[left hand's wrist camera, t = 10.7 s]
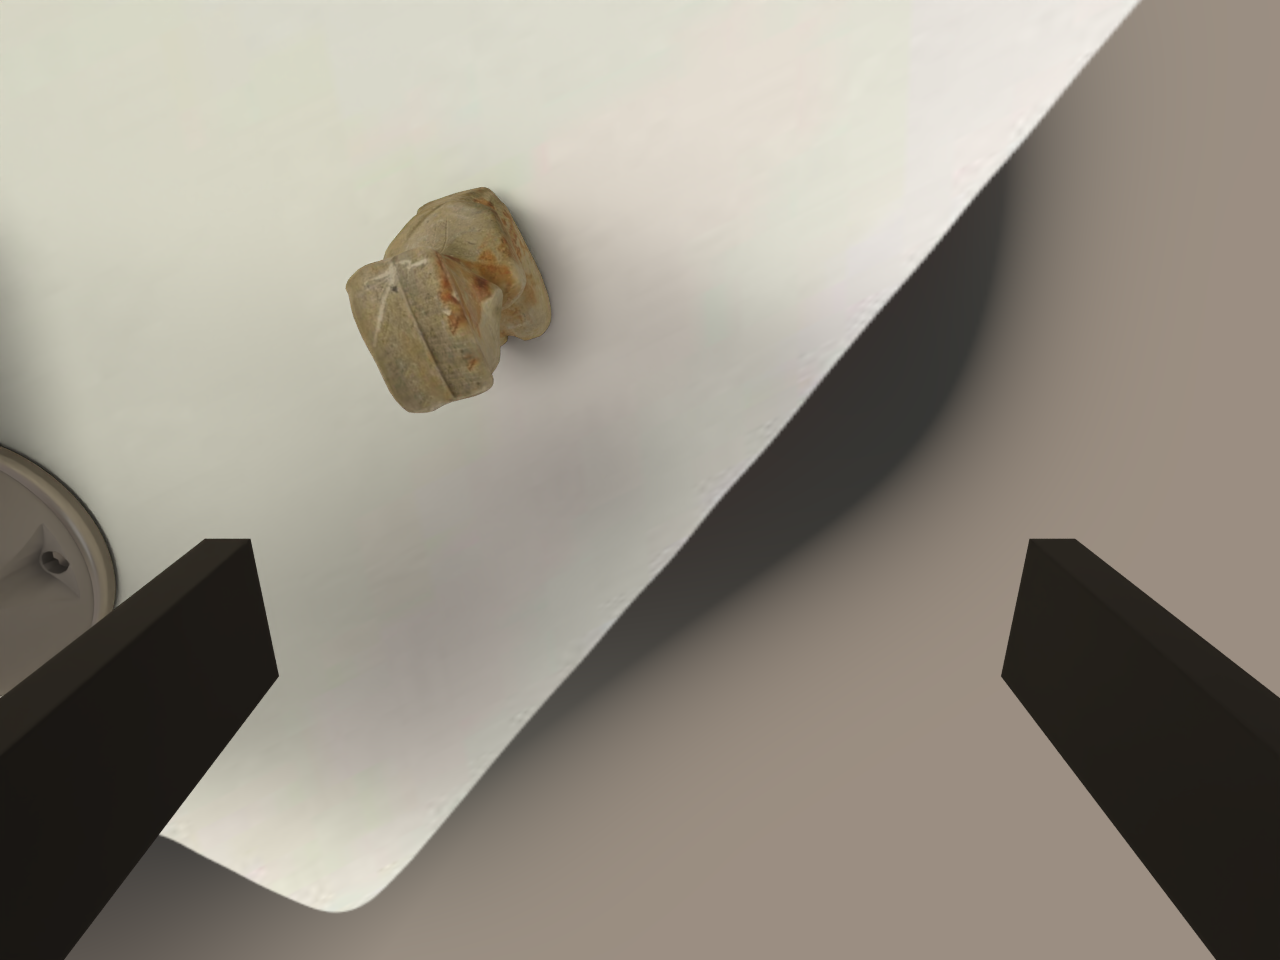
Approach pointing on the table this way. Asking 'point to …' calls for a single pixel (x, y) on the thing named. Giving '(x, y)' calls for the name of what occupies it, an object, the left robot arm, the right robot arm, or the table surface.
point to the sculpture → (448, 300)
